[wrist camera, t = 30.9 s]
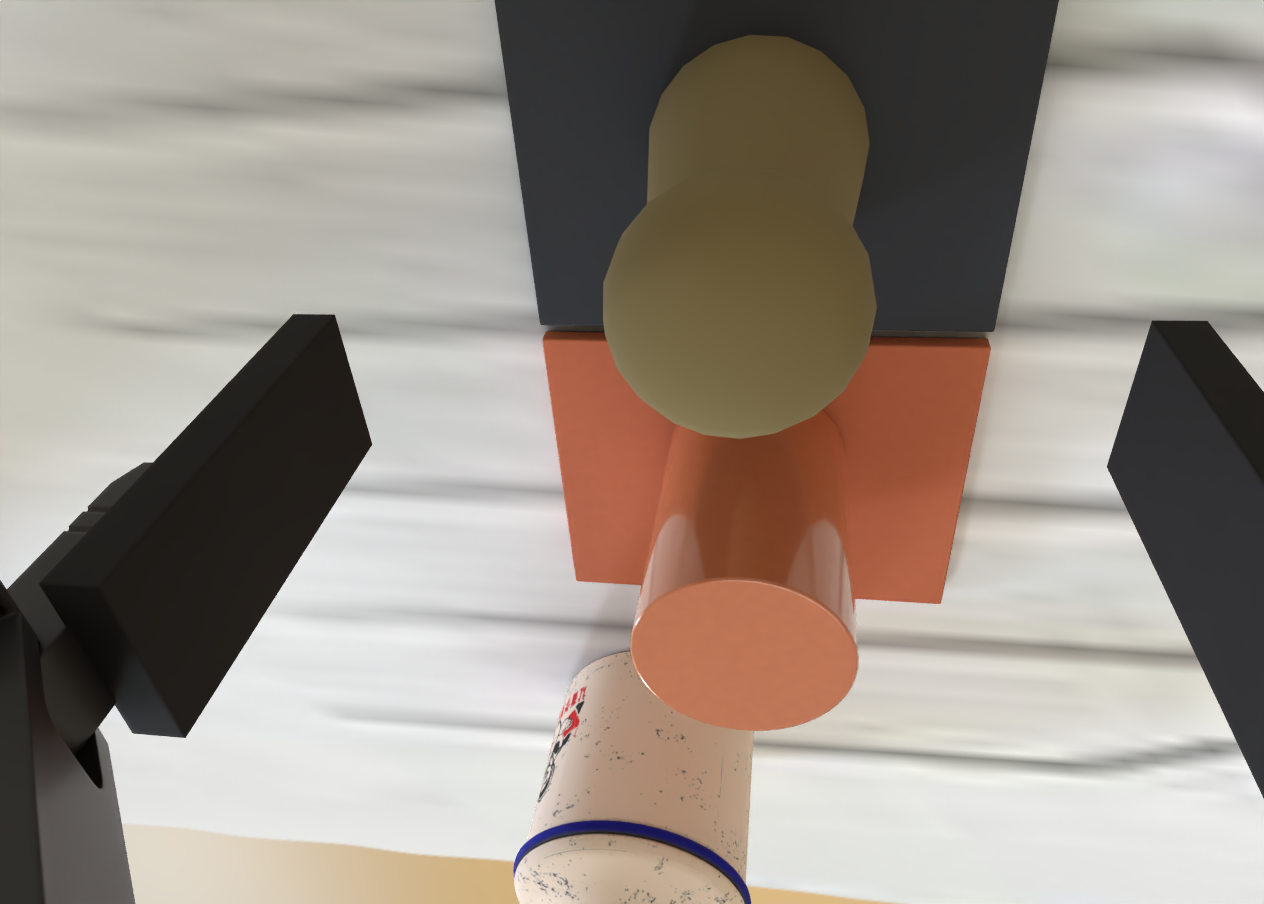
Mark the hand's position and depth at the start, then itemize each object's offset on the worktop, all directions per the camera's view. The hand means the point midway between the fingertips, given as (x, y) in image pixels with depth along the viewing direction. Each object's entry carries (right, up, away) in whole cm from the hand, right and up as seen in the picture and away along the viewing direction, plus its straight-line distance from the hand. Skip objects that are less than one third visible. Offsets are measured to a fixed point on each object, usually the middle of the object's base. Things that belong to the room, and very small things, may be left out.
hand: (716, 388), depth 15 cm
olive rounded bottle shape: (+2, +7, +10) cm, 12 cm away
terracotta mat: (+3, -2, +17) cm, 17 cm away
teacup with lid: (0, -14, +27) cm, 30 cm away
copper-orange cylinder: (+3, -1, +16) cm, 16 cm away
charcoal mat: (+2, +8, +10) cm, 13 cm away
